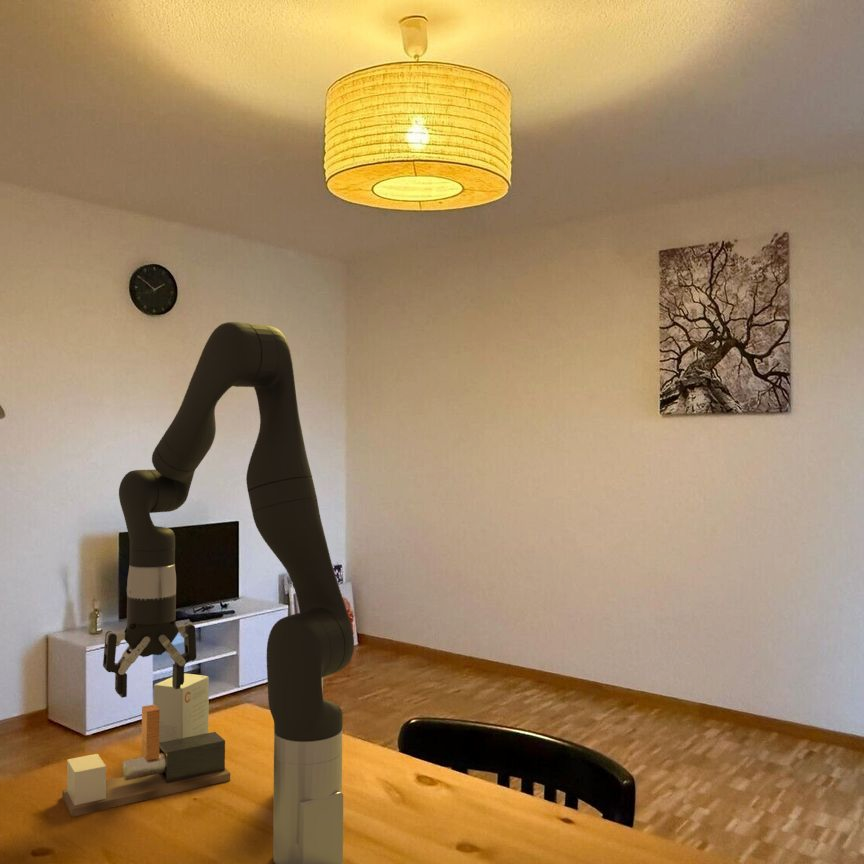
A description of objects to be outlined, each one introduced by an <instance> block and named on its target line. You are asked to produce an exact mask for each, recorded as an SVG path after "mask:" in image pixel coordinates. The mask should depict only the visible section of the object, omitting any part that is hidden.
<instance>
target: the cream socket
mask: <svg viewBox="0 0 864 864" xmlns="http://www.w3.org/2000/svg"><path fill="white" fill-rule="evenodd" d="M66 762H67V763H66V764H67V765H66V767H67V769H66V773H67V774H66V789H67V792H68V794H69V796H70V798H71V800H72V802H73V804H74V806H75V805H79V804H84V803H88V802H93V801H97V800H102V799H106V780H107V765H106V763H104V761H103V760H102V758H101V757H100V755H99V754H98V753H94V754H89V755H88V754H87V755H82V756H79V757H73V758H69V759H67V760H66Z"/></svg>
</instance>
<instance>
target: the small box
mask: <svg viewBox="0 0 864 864" xmlns="http://www.w3.org/2000/svg"><path fill="white" fill-rule="evenodd" d="M172 678H173V676H171V677H169V678H167V679H165V680H161V681H160V682H157V683H155V684H153V705H154V704H155V705H156V706H157V707H158V708H159V709H160V719H159V743H160V742H165V741H170V740H175V739H181V738H186V737H191V736H196V735H201V734H206V733H210V732H209V730H210V729H209V714H210V712H209V710H210V708H209V707H210V705H209V699H210V698H209V697H210V695H209V694H210V693H209V692H210V691H209V688H210V687H209V683H210V682H209V680H210V677H209V676H207V675H201V674H192V673H185V672H184V683H183V685H181V687H180V689H175V688H173V685H172Z"/></svg>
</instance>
